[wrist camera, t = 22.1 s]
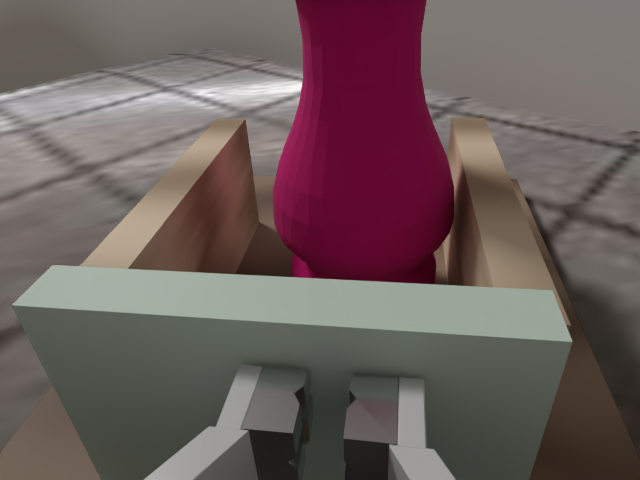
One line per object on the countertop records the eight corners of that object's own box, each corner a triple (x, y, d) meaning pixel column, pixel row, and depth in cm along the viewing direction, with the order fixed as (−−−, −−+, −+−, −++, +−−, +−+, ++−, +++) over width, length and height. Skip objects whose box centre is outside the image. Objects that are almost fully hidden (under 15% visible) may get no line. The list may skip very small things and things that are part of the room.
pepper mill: (286, 248, 25) (225, -315, 14) (427, 241, 25) (471, -334, 14) (278, 351, 19) (160, -493, 8) (464, 342, 19) (590, -528, 8)
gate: (510, 537, 13) (572, 341, 9) (104, 486, 14) (11, 305, 11) (501, 481, 14) (552, 290, 10) (128, 441, 16) (52, 265, 12)
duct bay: (715, 685, 11) (897, 523, 7) (-59, 570, 14) (-216, 411, 10) (513, 193, 31) (534, 81, 27) (212, 188, 34) (192, 86, 30)
